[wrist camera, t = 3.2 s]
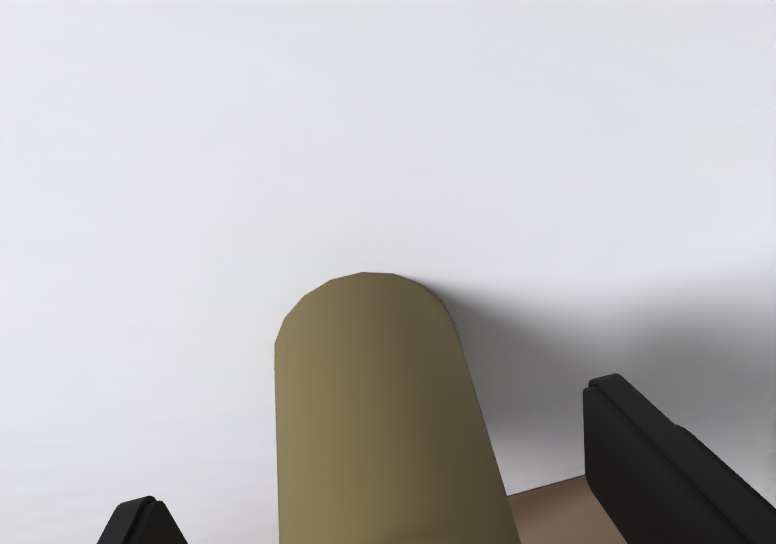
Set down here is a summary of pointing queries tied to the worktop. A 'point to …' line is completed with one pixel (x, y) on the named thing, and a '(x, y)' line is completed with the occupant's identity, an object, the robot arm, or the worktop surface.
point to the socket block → (563, 515)
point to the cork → (381, 422)
